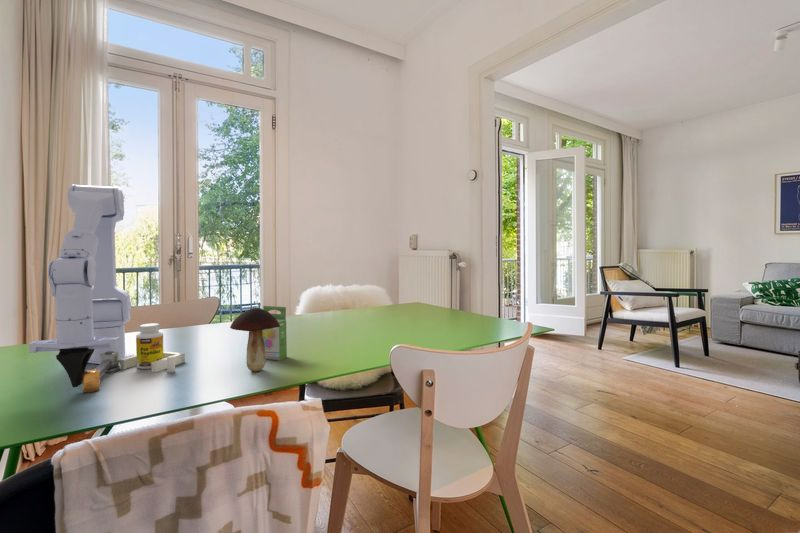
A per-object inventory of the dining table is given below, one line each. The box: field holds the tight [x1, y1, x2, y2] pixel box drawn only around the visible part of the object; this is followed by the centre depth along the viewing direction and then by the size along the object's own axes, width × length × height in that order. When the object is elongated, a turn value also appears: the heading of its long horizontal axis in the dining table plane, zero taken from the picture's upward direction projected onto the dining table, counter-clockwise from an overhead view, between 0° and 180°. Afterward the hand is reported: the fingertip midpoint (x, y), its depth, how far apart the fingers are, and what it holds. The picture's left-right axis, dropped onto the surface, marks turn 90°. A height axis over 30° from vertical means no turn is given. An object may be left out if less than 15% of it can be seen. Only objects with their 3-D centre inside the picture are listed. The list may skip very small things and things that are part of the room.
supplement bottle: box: [135, 322, 164, 370], centre depth 96 cm, size 6×6×10 cm
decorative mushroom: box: [229, 307, 280, 373], centre depth 93 cm, size 11×11×15 cm
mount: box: [103, 365, 121, 375], centre depth 93 cm, size 4×4×1 cm
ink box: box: [262, 305, 288, 361], centre depth 104 cm, size 7×4×13 cm, turn 75°
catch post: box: [166, 356, 176, 374], centre depth 92 cm, size 2×2×4 cm
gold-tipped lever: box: [81, 351, 120, 393], centre depth 86 cm, size 17×4×4 cm, turn 24°
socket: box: [119, 350, 186, 373], centre depth 97 cm, size 10×9×2 cm
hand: (77, 385), depth 79 cm, fingers closed
